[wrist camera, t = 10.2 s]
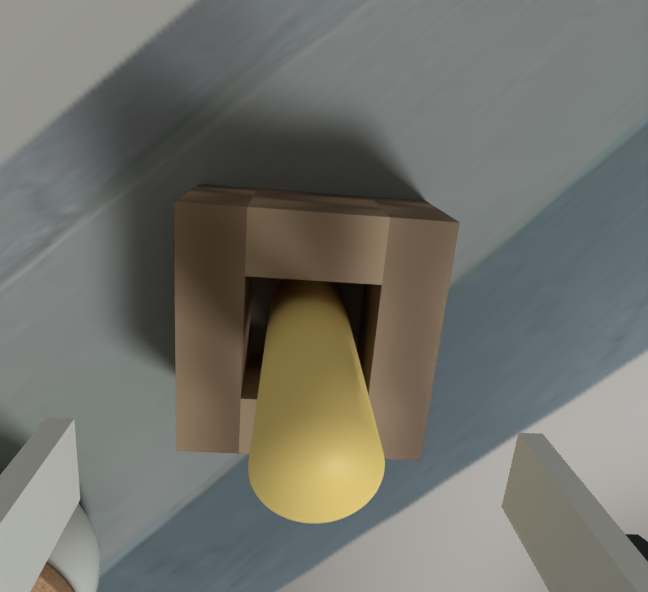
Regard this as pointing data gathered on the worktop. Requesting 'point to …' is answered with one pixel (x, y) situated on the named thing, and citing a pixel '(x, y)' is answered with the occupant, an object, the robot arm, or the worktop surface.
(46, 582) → the lidded jar
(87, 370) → the worktop surface
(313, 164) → the worktop surface
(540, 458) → the robot arm
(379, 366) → the socket block
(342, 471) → the dowel
